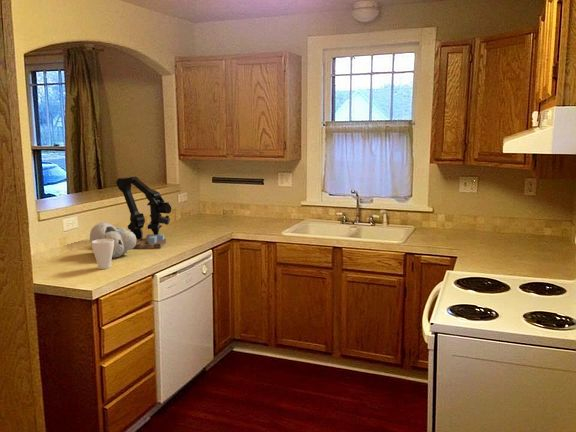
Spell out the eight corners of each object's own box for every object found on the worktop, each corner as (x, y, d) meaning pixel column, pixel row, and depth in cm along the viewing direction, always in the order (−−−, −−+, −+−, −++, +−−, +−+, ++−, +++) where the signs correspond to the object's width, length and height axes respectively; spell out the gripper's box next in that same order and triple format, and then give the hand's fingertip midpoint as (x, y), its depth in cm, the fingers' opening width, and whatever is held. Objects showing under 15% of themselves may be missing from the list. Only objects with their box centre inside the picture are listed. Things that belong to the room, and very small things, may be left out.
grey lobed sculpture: (109, 249, 268) (112, 210, 276) (79, 261, 281) (83, 223, 290) (141, 258, 283) (143, 221, 292) (112, 269, 296) (114, 233, 305)
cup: (107, 271, 254) (105, 243, 252) (88, 269, 257) (86, 242, 255) (119, 265, 264) (118, 239, 262) (101, 264, 267) (99, 238, 265)
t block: (143, 244, 312) (143, 237, 311) (148, 240, 322) (147, 234, 322) (160, 244, 312) (159, 237, 311) (164, 240, 322) (164, 234, 322)
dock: (134, 248, 301) (133, 244, 301) (141, 243, 316) (140, 239, 315) (160, 248, 301) (160, 244, 301) (166, 242, 316) (165, 238, 315)
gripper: (165, 215, 312) (166, 240, 315) (171, 210, 330) (173, 234, 333) (146, 215, 312) (148, 241, 314) (153, 210, 330) (155, 234, 333)
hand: (156, 237), depth 324 cm, fingers closed
